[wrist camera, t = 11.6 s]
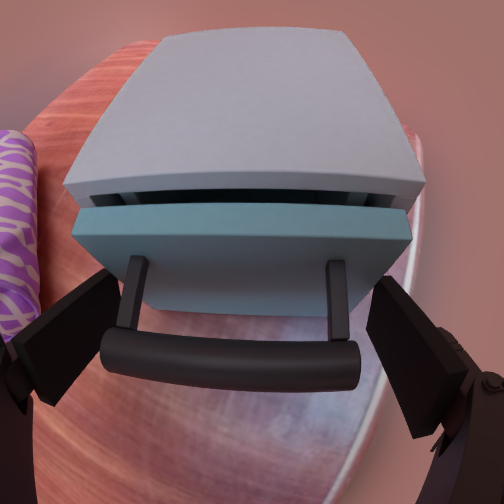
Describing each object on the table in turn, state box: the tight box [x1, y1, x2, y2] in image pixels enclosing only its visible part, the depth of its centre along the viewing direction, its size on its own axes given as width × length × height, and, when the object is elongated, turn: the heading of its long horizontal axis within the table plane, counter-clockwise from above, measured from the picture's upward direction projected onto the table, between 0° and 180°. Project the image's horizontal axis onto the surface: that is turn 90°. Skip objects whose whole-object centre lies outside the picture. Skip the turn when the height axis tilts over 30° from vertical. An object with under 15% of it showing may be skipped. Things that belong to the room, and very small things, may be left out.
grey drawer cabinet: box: [63, 27, 426, 214], centre depth 16 cm, size 15×13×11 cm
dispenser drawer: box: [71, 189, 412, 393], centre depth 14 cm, size 18×12×9 cm, turn 177°
